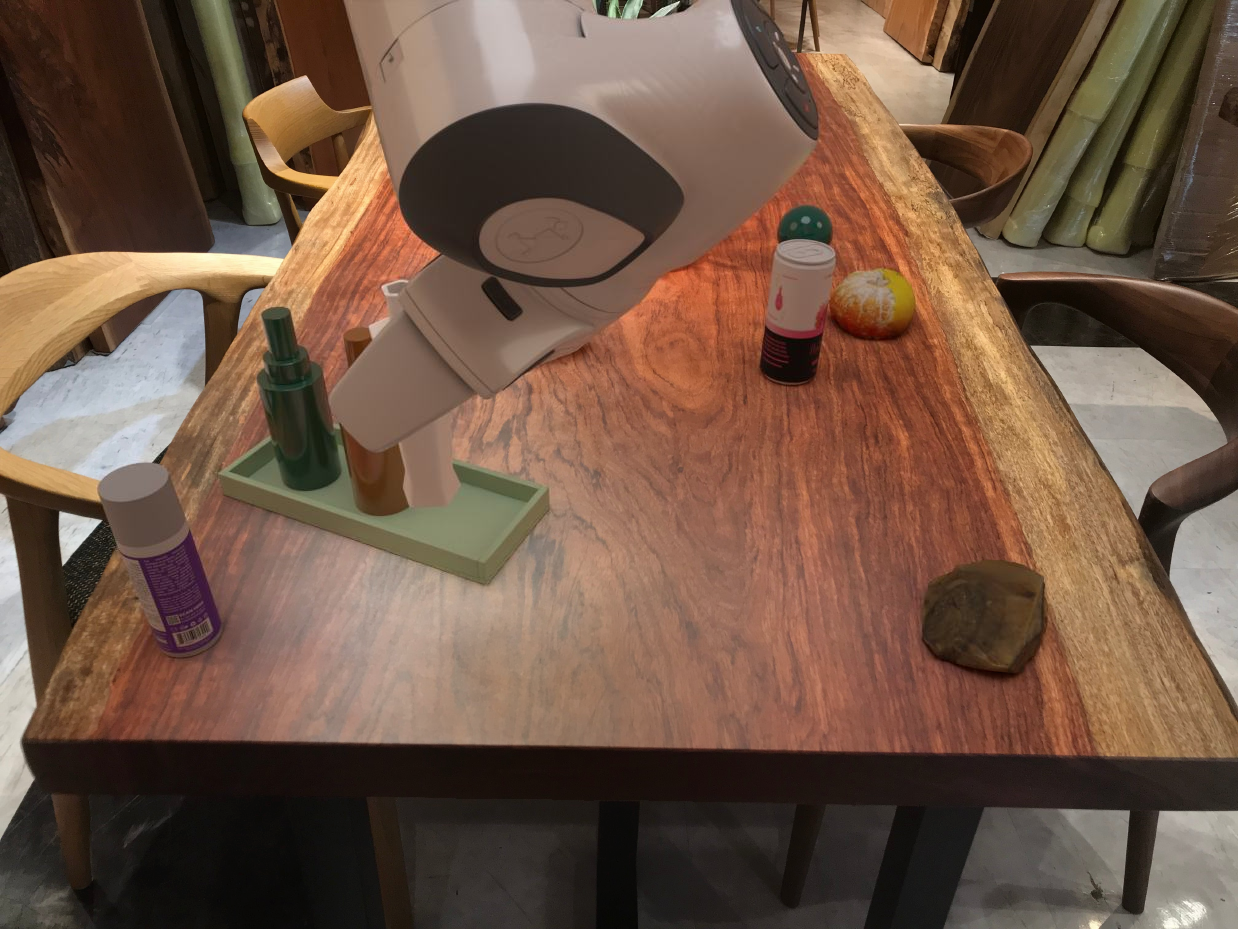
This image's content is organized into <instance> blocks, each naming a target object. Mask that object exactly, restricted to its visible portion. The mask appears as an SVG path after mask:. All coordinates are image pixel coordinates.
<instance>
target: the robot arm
mask: <svg viewBox="0 0 1238 929" xmlns="http://www.w3.org/2000/svg"><path fill="white" fill-rule="evenodd" d="M343 3H344V7H345V12H346V16H347V19H348V23H349V27H350V30H351V34H352V39H353V41H354V42H353V43H354V46H355V49H356V53H357V57H358V60H359V64H360V68H361V72H362V76H363V79H364V83H365V86H366V89H367V90H366V91H367V95H368V98H369V102H370V107H371V111H372V115H373V119H374V123H375V127H376V130H377V135H378V138H379V142H380V145H381V149H382V153H383V157H384V160H385V163H386V167H387V171H388V174H389V178H390V181H391V185H392V189H393V191H394V194H395V197H396V200H397V202H398V206H399V210H400V213H401V215H402V218H403V220H404V222H405V224H406V225H407V226H408V228H409V229H410V230H411V232H412V233H413V234H414V235H415V236H416V237H417V238H418V239H419V240H421V241H422V242H423V243H425V245H427V246H429V247H430V248H432V249H433V250H434V251H436V252H438V253H439V254H438V255H437V256H435V257H434V258H433V259H432V260H430V261H429V262H428V263H427V264H425V266H423V267H422V268H421V269H420V270H419V271H418V272H417V273H416V274H415V275H414V276H413V277H412V278H411V279H410V280H408V281H409V282H408V283H407V284H406V285H405V286H404V287H403V288H402V289H401V290H400V292H399V293H398V296H397V298H398V301H399V302H400V304H401V305H402V306H403V308H402V309H401V310H400V311H399V312H398V313H397V314H396V315H395V316H394V317H393V318H392V319H391V320H390V321H389V322H388V323H387V324H386V325H385V326H384V327H383V329H382V330H381V331H380V332H379V333H378V334H377V335H376V337H375V338H374V339H373V340H372V341H371V342H370V344H369V345H368V346H367V347H366V348H365V350H364V351H363V352H362V353H361V355H360V356H359V357H358V358H357V359H356V361H355V362H354V363H353V364H352V366H351V367H350V368H349V367H348V369H347V371H345V372H346V373H345V372H344V373H345V374H343V375H344V376H343V375H342V377H341V378H340V379H339V380H338V382H337V383H336V384H335V386H334V387H333V388H332V390H331V391H330V393H329V395H328V400H329V406H330V410H331V414H333V416H334V418H336V420H337V421H338V423H339V422H340V424H341V425H342V426H343V427H344V428H345V430H346V431H347V432H348V433H349V434H350V435H351V436H352V437H353V438H354V439H355V440H356V441H357V442H358V443H359V444H360V445H361V446H363V447H364V448H365V449H367V450H368V451H371V452H382V451H384V450H387V449H389V448H391V447H393V446H394V445H396V444H398V443H399V442H401V441H403V440H405V439H406V438H408V437H410V436H411V435H413V434H415V433H416V432H418V431H420V430H421V429H423V428H424V427H426V426H428V425H429V424H431V423H433V422H434V421H436V420H437V419H439V418H441V417H442V416H444V415H446V414H447V413H449V412H450V413H451V412H452V411H454V410H455V409H457V408H458V407H460V406H461V405H463V404H464V403H466V402H467V401H469V400H470V399H472V398H473V397H475V396H476V395H478V396H479V397H480V398H481V399H482V400H490V399H493V398H494V397H495V396H496V395H498V394H499V393H500V392H503V391H505V390H506V389H507V388H509V387H510V386H511V385H512V384H514V383H515V382H517V381H518V380H519V379H520V378H521V377H523V376H524V375H526V374H527V373H529V372H531V371H532V370H534V369H536V368H537V367H539V366H541V365H544V364H546V363H549V362H552V361H555V360H557V359H559V358H561V357H563V356H568V355H570V354H572V353H575V352H577V351H578V350H579V349H581V348H582V347H583V346H585V345H586V344H588V343H590V342H591V341H592V340H593V339H594V338H595V337H597V336H598V335H600V334H601V333H602V332H603V331H605V330H606V329H607V328H609V327H610V326H611V325H613V324H614V323H615V322H617V321H618V320H620V319H621V318H622V317H623V316H625V315H626V314H628V313H629V312H630V311H632V310H633V309H634V308H636V307H637V306H639V304H640V303H642V301H643V300H644V299H645V298H646V297H647V296H648V295H649V294H650V292H651V291H652V289H653V287H654V286H655V284H656V283H657V282H658V281H659V280H660V279H661V278H662V277H663V276H665V275H666V274H668V273H670V272H672V271H675V270H678V269H680V268H683V267H686V266H689V265H691V264H693V263H695V262H696V261H698V260H700V258H702V257H703V256H705V255H706V254H707V253H709V252H710V251H711V250H713V249H714V248H716V247H717V246H718V245H719V244H720V243H722V242H723V241H725V240H726V239H727V238H728V237H729V236H730V235H732V234H733V233H734V232H736V231H737V230H738V229H739V228H740V227H741V226H743V225H744V224H746V222H747V221H749V220H750V219H751V218H752V217H753V216H754V215H755V214H757V213H758V212H759V211H760V210H761V209H763V207H765V205H766V204H768V203H769V202H770V201H771V200H772V199H773V198H774V197H775V196H776V195H777V194H778V193H779V192H780V191H782V189H783V188H784V187H785V186H786V185H787V184H788V183H789V182H790V181H791V180H792V179H793V178H794V176H795V175H797V173H798V172H799V171H800V170H801V168H803V166H804V164H805V163H806V162H807V161H808V160H809V158H810V156H811V155H812V153H813V152H814V150H815V149H816V147H817V144H818V142H819V137H820V132H819V124H820V123H819V112H818V108H817V104H816V101H815V98H814V96H813V92H812V91H811V88H810V84H809V83H808V80H807V78H806V76H805V73H804V71H803V69H802V67H801V65H800V63H799V60H798V58H797V56H796V54H795V52H794V51H792V48H791V47H790V45H789V44H788V41H787V40H786V38H785V34H784V33H783V31H782V30H781V29H780V27H779V26H778V24H777V23H776V21H775V20H774V19H773V18H772V15H770V13H769V12H768V11H767V10H766V8H765V7H764V6H763V5H762V4H761V3H760V2H759V1H758V0H697V1H695V3H693V4H692V5H690V6H689V7H688V8H686V9H685V10H684V11H680V12H676V13H672V14H668V15H662V16H656V17H644V18H620V17H612V16H606V15H601V14H599V13H598V11H597V9H596V6H595V4H594V1H593V0H343ZM591 339H592V340H591ZM590 340H591V341H590ZM589 341H590V342H589Z"/></svg>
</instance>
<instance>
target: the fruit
mask: <svg viewBox="0 0 1238 929" xmlns="http://www.w3.org/2000/svg"><path fill="white" fill-rule="evenodd" d="M914 291H915V290H914V289H913V286H912V284H911V283H910V282H909V281H908V280H907V279H906V278H905V277H904V275H902V274H901V273H900V272H897V271H895V270H891V269H889V268H886V267H885V268H883V267H876V268H875V269H869V270H856V271H853V272H850V273H849V274H848V275H847V276H846V277H845V278H844V279H843V280H842V281H841V282H840V283H839V284H837V285H836V286H835V288H834V289H833V290H832V293H831V294H830V297H829V303H828V304H829V314H830V317H831V318H832V320H834V322H835V323H839V328H840V329H842V330H844V331H845V332H849V333H850V335H851V336H854V337H856V338H861V339H865V340H872V341H881V340H892V339H894V338H898V337H900V336H901V335H902V334H903V333H904V332H905V331H906V330H908V328H909V327H910V325H911V323H912V322H913V319H914V316H915V312H916V305H917V304H916V296H915V292H914Z"/></svg>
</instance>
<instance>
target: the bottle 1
mask: <svg viewBox="0 0 1238 929" xmlns="http://www.w3.org/2000/svg"><path fill="white" fill-rule="evenodd" d="M260 318H261V321H262V325H263V330H264V335H265V339H266V342H267V347H268V350H266V351H265V352H264V353H263V354H262V362H263V366H264V368H261V369H260V371H259V372H258V373H257V375H256V383H257V389H258V392H259V396H260V401H261V404H262V408H263V412H264V416H265V419H266V424H267V427H268V431H269V436H271V440H272V444H273V448H274V452H275V456H276V460H277V464H278V468H279V472H280V476H281V480H282V482H283V483H284V485H286V486H287V487H288V488H291V489H293V490H298V491H311V490H317V489H321V488H324V487H326V486H328V485H330V484H332V483H333V482H335V481H336V480H337V479H338V478H339V476H340V475H341V472H342V465H341V460H340V455H339V450H338V445H337V440H336V435H335V430H334V425H333V423H334V421H333V416H332V411H331V409H330V406H329V395H328V390H327V386H326V381H325V376H324V370H323V368H322V366H321V365H320V364H319V363H317V362H316V361H313V360H310V355H309V351H308V349H307V348H306V347H305V346H303V345H300V344H299V343H298V339H297V335H296V329H295V325H294V321H293V315H292V311H291V309H290V308H289V307H286V306H272V307H268V308H266V309H264V310H262V311H261V313H260Z"/></svg>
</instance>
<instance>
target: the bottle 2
mask: <svg viewBox="0 0 1238 929" xmlns="http://www.w3.org/2000/svg"><path fill="white" fill-rule="evenodd" d="M342 338H343V345H344V349H345V356H346V360H347V366H348V369H349V368H350V367H351V366H352V364H353V363H354V362H355V361H356V359H357V358H358V357H359V356H360V355H361V353H362V352H363V351H364V350H365V348H366V347H367V346H368V345H369V344H370V342H371V341H372V338H371V334H370V330H369V327H365V326H360V327H359V326H357V327H352V328H349V329H347V330H346V331H344V332H343V334H342ZM346 372H347V371H345V372H344V374H345V373H346ZM344 374H343V375H342V377H343V376H344ZM338 424H339V425H340V430H341V436H342V441H343V446H344V451H345V456H346V461H347V466H348V471H349V477H350V482H351V487H352V492H353V497H354V502H355V505H356V507H357V508H358V509H359V510H360V511H361V512H363V513H365V514H368V515H373V516H387V515H392V514H396V513H399V512H401V511H403V510H405V509H406V508H408V507H409V504H408V501H407V498H406V495H405V492H404V489H403V483H404V476H405V467H404V463H403V459H402V455H401V452H400V448H399V444H396V445H394V446H393V447H391V448H389V449H387V450H384V451H382V452H371V451H368V450H367V449H365V448H364V447H363V446H361V445H360V444H359V443H358V442H357V441H356V440H355V439H354V438H353V437H352V436H351V435H350V434H349V433H348V432H347V431H346V430H345V428H344V427H343V426H342V425H341V424H340V422H339V421H338Z"/></svg>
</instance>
